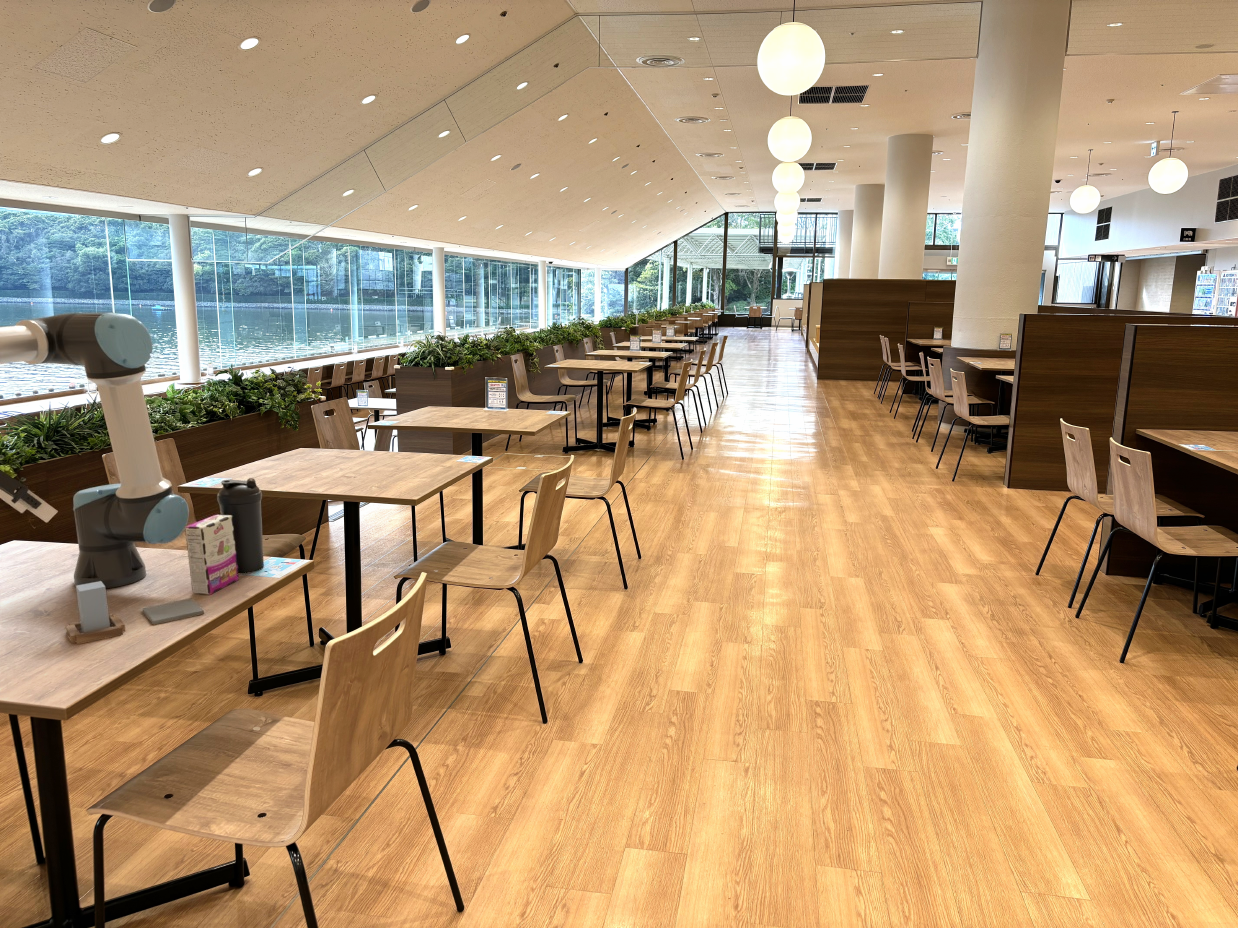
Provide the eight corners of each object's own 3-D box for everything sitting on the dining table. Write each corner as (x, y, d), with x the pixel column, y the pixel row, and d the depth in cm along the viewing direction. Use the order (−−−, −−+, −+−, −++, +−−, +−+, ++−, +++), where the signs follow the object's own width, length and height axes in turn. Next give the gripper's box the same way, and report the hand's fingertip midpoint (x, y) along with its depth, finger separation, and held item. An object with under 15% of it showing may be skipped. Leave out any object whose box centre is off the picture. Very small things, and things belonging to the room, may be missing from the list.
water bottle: (224, 565, 221) (216, 477, 217) (267, 560, 225) (260, 474, 221) (223, 576, 212) (215, 485, 208) (268, 571, 216) (260, 482, 212)
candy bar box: (221, 578, 211) (215, 513, 208) (239, 580, 210) (233, 514, 207) (190, 594, 200) (183, 525, 197) (209, 595, 199) (202, 527, 196)
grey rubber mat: (142, 611, 189) (142, 608, 189) (191, 601, 195) (191, 597, 195) (153, 624, 181) (152, 621, 181) (204, 613, 188) (203, 610, 187)
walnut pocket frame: (65, 630, 178) (64, 624, 178) (117, 620, 184) (116, 613, 184) (73, 645, 171) (72, 638, 170) (127, 633, 177) (126, 626, 176)
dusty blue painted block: (81, 631, 178) (75, 585, 176) (106, 626, 180) (101, 581, 178) (85, 638, 174) (79, 591, 172) (110, 632, 177) (105, 586, 175)
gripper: (-99, 448, 158) (2, 518, 172) (-62, 460, 143) (47, 537, 156) (-65, 418, 162) (32, 489, 175) (-25, 427, 146) (78, 504, 160)
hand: (39, 512), depth 166 cm, fingers open, 13 cm apart
